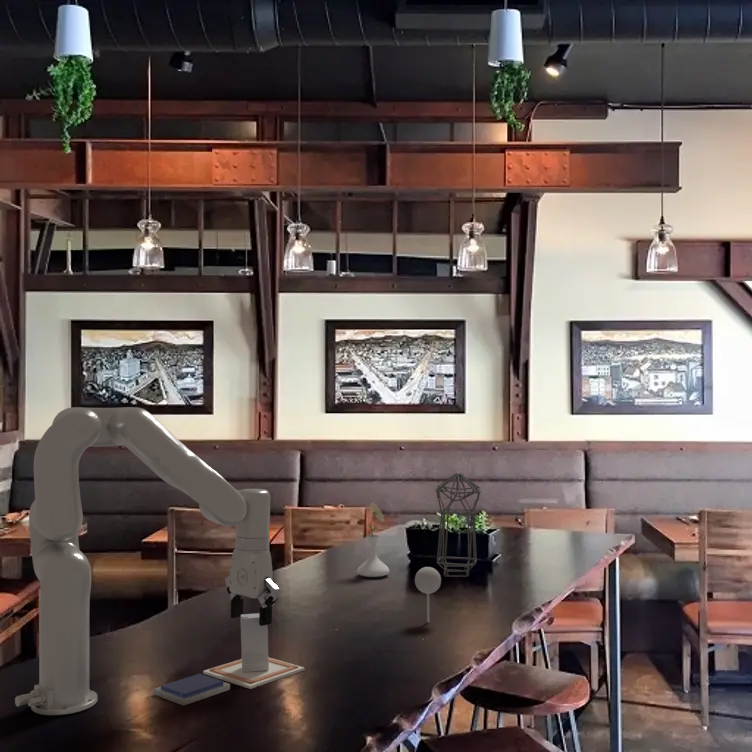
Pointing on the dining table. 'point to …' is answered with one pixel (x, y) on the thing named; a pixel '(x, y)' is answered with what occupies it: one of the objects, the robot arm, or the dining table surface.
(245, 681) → the white square board
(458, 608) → the dining table surface
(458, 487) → the geometric lantern
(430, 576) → the lollipop
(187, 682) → the ink pad
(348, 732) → the dining table surface
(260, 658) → the skincare box
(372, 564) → the flower in vase
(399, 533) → the dining table surface
